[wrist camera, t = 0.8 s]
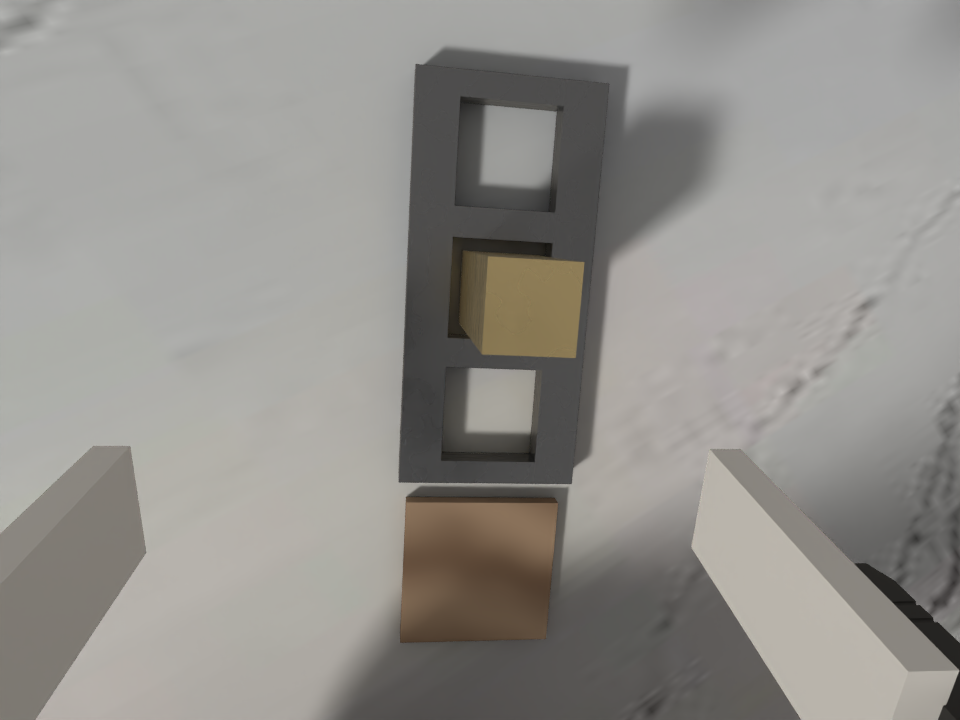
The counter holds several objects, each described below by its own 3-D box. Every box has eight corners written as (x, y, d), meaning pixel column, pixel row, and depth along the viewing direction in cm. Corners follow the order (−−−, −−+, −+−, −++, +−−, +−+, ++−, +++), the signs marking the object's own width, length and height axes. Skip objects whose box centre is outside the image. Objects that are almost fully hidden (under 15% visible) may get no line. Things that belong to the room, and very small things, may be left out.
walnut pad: (542, 631, 41) (545, 638, 40) (400, 634, 39) (400, 642, 38) (554, 497, 39) (558, 503, 38) (406, 496, 38) (406, 502, 37)
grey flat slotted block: (565, 474, 39) (571, 484, 37) (398, 472, 37) (398, 482, 36) (600, 89, 35) (609, 83, 33) (415, 71, 33) (416, 64, 32)
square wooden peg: (527, 325, 37) (575, 358, 27) (458, 321, 36) (481, 354, 26) (533, 254, 36) (584, 262, 26) (462, 250, 35) (487, 256, 26)
